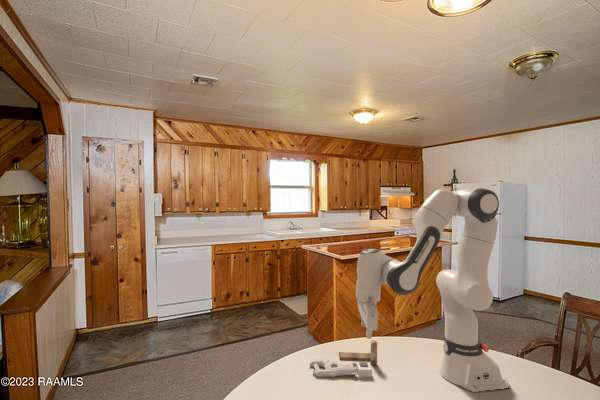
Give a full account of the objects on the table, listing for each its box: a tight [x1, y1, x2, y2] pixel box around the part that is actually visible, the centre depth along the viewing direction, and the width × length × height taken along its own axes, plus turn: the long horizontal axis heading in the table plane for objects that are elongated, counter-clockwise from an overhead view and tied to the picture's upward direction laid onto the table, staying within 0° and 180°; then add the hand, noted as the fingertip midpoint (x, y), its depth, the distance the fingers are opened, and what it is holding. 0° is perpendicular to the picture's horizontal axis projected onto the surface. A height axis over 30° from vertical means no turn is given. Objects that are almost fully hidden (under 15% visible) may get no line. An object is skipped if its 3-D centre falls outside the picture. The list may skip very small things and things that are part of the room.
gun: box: [309, 358, 359, 378], centre depth 113 cm, size 18×3×10 cm
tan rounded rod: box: [369, 339, 378, 367], centre depth 118 cm, size 3×3×9 cm
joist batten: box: [338, 351, 371, 362], centre depth 122 cm, size 14×4×1 cm, turn 87°
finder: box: [355, 361, 373, 378], centre depth 111 cm, size 5×5×3 cm
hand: (366, 331), depth 105 cm, fingers open, 8 cm apart
